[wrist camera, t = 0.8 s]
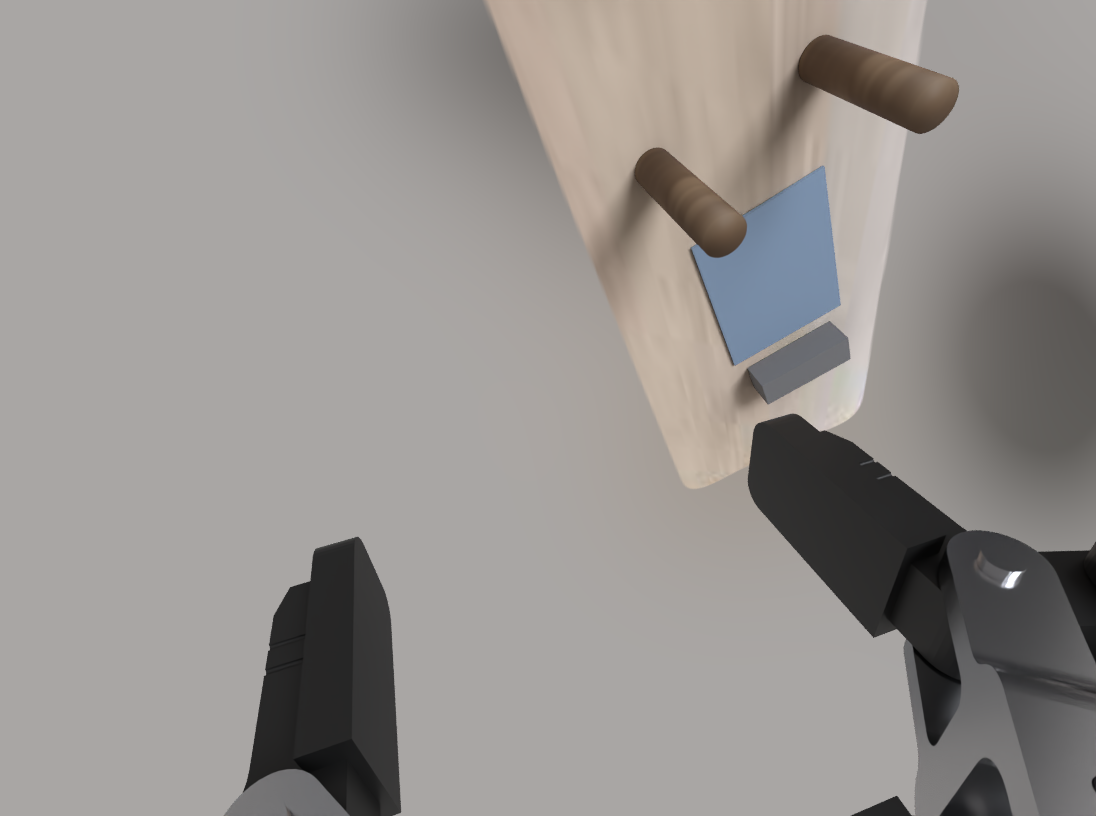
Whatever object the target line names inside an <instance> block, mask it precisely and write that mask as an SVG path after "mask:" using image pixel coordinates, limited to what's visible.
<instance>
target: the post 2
mask: <svg viewBox="0 0 1096 816" xmlns="http://www.w3.org/2000/svg"><path fill="white" fill-rule="evenodd" d="M798 70H799V75H800V78H801V79H802V80H803V81H804V82H807V83H809V84H811V85H813V86H815V87H817V88H819V89H822V90H824V91H826V92H828V93H830V94H832V95H835V96H837V97H839V98H841V99H843V100H845V101H848V102H850V103H852V104H854V105H856V106H858V107H861V108H863V109H865V110H867V111H869V112H871V113H874V114H876V115H878V116H880V117H882V118H884V119H887V120H889V121H891V122H893V123H895V124H897V125H900V126H902V127H904V128H906V129H908V130H910V131H913V132H915V133H918V134H922V133H926V132H929V131H931V130H932V129H934V128H936V127H937V126H938V125H939V124H940V123H941V122H942V121H944V119H945V118H946V117H947V116H948V115H949V113H950V112H951V110H952V109H953V107H954V105H955V102H956V100H957V97H958V93H959V86H958V83H957V81H956V80H955V79H953V78H951V77H948V76H945V75H942V74H939V73H937V72H934V71H930V70H928V69H925V68H922V67H919V66H916V65H913V64H911V63H908V62H905V61H902V60H899V59H896V58H893V57H890V56H887V55H885V54H882V53H879V52H876V51H873V50H870V49H867V48H864V47H861V46H859V45H856V44H853V43H850V42H847V41H844V40H841V39H838V38H835V37H833V36H830V35H822V36H819V37H817V38H816V39H814V40H813V41H812V42H811V43H810V44H809V45H808V46H807V47H806V49H805V50H804V52H803V54H802V56H801V58H800V62H799V69H798Z"/></svg>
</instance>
